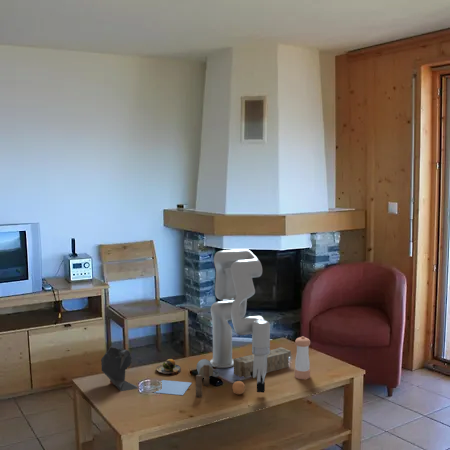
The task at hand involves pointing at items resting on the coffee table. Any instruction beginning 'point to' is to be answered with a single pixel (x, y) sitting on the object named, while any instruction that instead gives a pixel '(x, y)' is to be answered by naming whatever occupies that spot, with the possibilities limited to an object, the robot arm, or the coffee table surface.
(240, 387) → the ball
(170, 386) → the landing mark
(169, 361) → the fruit plate
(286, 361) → the block tower
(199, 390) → the post
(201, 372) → the ceramic mug
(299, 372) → the salt shaker
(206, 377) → the post
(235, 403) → the coffee table surface
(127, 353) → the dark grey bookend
